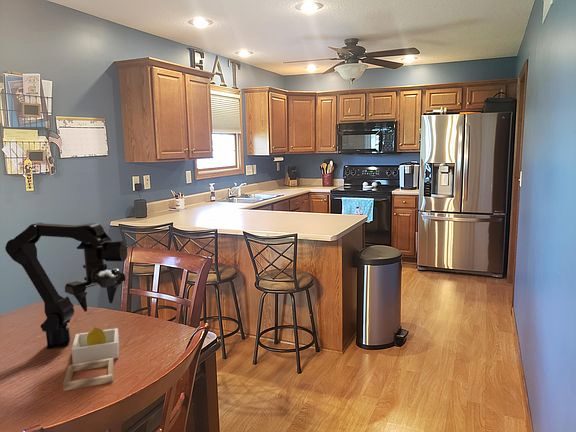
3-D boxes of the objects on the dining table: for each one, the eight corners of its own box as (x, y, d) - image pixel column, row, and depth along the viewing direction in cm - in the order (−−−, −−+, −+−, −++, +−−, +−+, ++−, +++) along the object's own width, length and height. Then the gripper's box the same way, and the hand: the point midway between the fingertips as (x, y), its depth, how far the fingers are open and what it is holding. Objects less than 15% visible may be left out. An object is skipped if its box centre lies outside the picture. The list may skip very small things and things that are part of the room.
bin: (73, 365, 136) (71, 349, 136) (77, 348, 149) (76, 334, 148) (118, 357, 141) (117, 342, 140) (119, 342, 153) (118, 328, 152)
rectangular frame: (63, 390, 122) (63, 384, 121) (69, 370, 133) (68, 364, 133) (112, 381, 126) (112, 375, 125) (113, 363, 137) (113, 357, 137)
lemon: (85, 351, 145) (83, 327, 144) (103, 346, 148) (101, 322, 147) (90, 356, 141) (88, 332, 140) (108, 351, 144) (106, 327, 143)
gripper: (80, 271, 135) (85, 320, 138) (133, 258, 150) (137, 303, 153) (61, 266, 142) (66, 314, 144) (114, 254, 157) (117, 297, 159)
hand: (98, 307), depth 150 cm, fingers open, 9 cm apart
